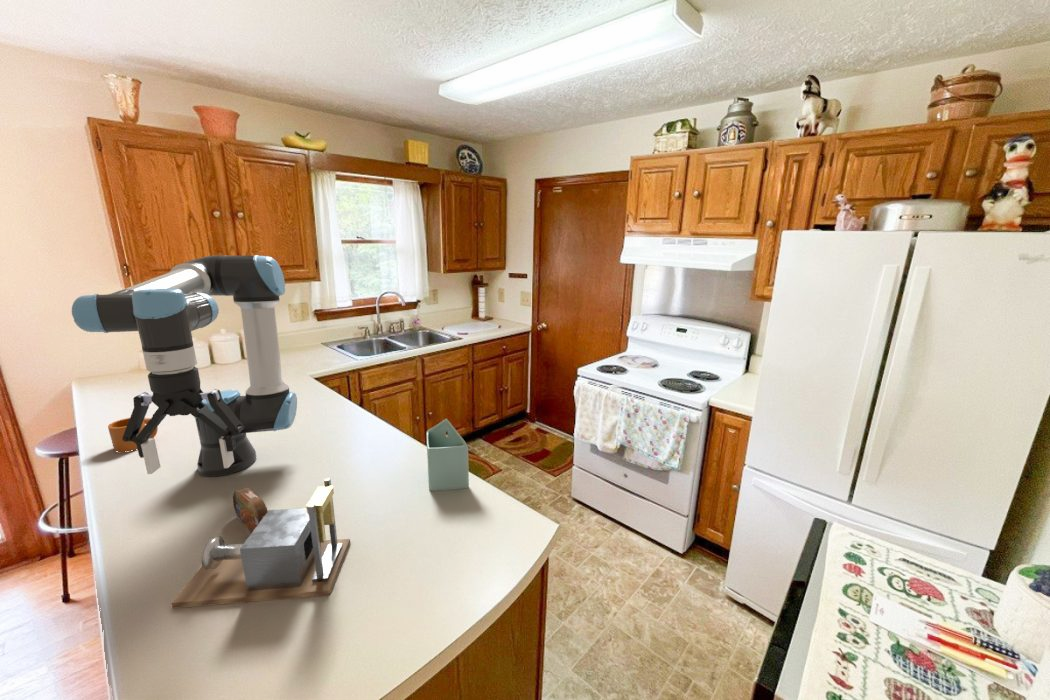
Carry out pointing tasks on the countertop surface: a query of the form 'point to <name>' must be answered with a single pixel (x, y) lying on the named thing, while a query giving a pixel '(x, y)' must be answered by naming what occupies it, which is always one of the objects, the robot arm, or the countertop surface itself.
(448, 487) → the planter
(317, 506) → the bracket
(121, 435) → the mug
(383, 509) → the countertop surface
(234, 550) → the pin
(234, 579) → the board
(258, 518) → the tin
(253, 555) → the block
